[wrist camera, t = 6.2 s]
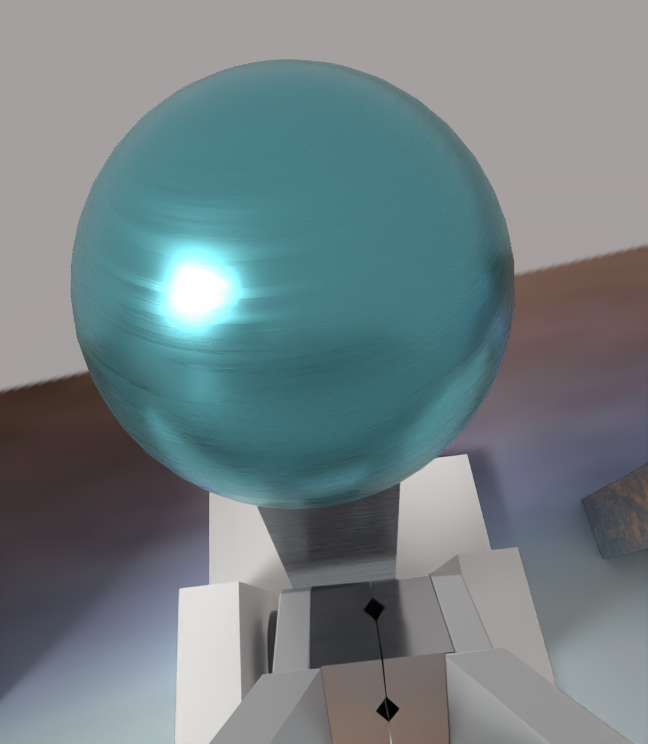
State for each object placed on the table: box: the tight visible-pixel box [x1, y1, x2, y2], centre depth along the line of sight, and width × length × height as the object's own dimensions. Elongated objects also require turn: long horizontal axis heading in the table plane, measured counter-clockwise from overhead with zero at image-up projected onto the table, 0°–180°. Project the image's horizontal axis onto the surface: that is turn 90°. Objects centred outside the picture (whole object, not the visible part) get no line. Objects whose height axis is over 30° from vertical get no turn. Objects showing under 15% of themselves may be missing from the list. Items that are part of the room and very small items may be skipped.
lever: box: [71, 59, 515, 674], centre depth 10 cm, size 6×4×18 cm
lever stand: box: [175, 454, 557, 744], centre depth 17 cm, size 12×14×8 cm
